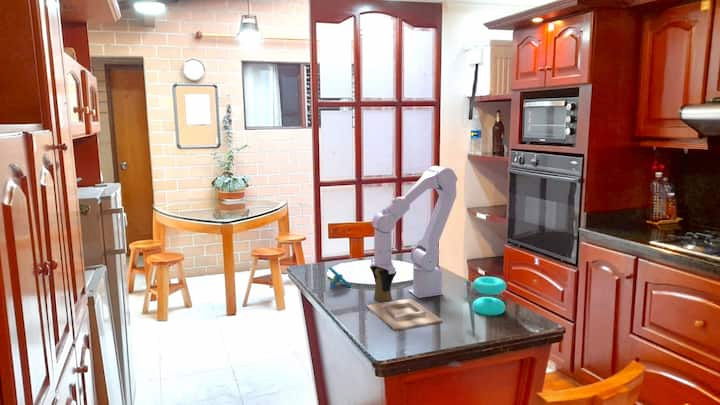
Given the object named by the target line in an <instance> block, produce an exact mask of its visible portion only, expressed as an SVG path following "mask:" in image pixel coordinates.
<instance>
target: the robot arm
mask: <svg viewBox="0 0 720 405" xmlns="http://www.w3.org/2000/svg"><path fill="white" fill-rule="evenodd" d="M457 181H458V177H457V175H456V173H455V171H454V170H453V169H452V168H450V167H444V166H443V167H442V166H440V165H432V166H431V167H429V168H428V170H426V171H425V172H423V173H422V175H421V177H419V179H418V180H417V181H416V182H415V183H414V184H413V185H412V186H411V188H410V189H408V190H407V192H405V193H404V195H403V196H397V197H396V198H395V197H393V198H392V199H391V202H390V203H389V204H388V205H387V206H386V207H385V208H383V209H381V210H380V211H381V212H378V213H376V214H375V215H374V216H373V218H372V220H371V226H372V227H373V228H374V230H373V231H374V234H373V237H374V238H373V240H374V241H373V242H374V244H373V245H374V250H373V254H374V256H371V261H370V262H371V263H370V266H369V269H370V271H371V273H372V275H373V278H374V284H376V279H377V276H376V275H375V270H376V268H377V267H381V268H384V271H379V272H378V273H379V275H380V277H381V281H382V289H383V292H388V291H390V289H391V286H392V283H393V280H394V278H395V276H396V275H397V271H396V267H395V266H394V263H393V262H392V259H393V258H392V255H393V254H392V251H393V250H392V242H393V241H392V236H393V235H392V234H393V233H392V231H393V230H394V229H395V226H396V223H397V222H398V221H399V220H400V219H401V218H402V217H403V216H405V215H406V213H408V211H409V210H410V207H411V204H412V203H413V202H414V201H415V200H417V199H418V198H419V197H420V196H421V195H422V194H423V193H425V192H426V191H427V190H431V189H435V191H436V193H437V194H438V198H437V201H436V203H435V206H434V208H433V212H432V214H431V215H430V219H429V221H428V223H427V226H426V229H425V232H424V234H423V237H422V239H420V240H419V241H417V242H416V246H415V247H414V248H413V249H412V250H411V252H410V260H411V262H413V267H412V268H413V270H412V271H413V272H412V273H413V277H412V288H410V289H408V292H409V293H411V294H412V295H413V296H416V297H417V298H418V299H422V298H427V297H429V298H430V297H434V296H435V297H436V296H441V295H444V292H443V288H442V287H443V274H442V269H440V267H438V265H439V264H438V263H439V255H440V248H439V242H440V241H441V240H440V239H441V237H442V234H443V232H444V229H445V227H446V224H447V221H448V219H449V216H450V213H451V211H452V209H453V205H454V203H455V201H456V198H457Z"/></svg>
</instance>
